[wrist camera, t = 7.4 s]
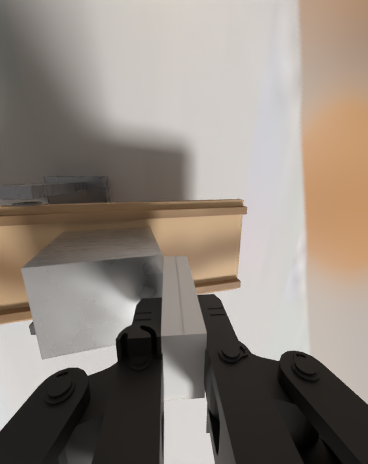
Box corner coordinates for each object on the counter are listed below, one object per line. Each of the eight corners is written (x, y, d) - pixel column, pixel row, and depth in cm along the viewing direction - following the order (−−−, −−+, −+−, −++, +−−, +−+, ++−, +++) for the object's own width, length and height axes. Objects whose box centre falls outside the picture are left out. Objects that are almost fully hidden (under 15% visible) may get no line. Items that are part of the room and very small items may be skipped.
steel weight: (63, 231, 14) (20, 268, 9) (150, 226, 16) (162, 254, 10) (73, 292, 15) (42, 359, 10) (152, 282, 17) (164, 335, 11)
